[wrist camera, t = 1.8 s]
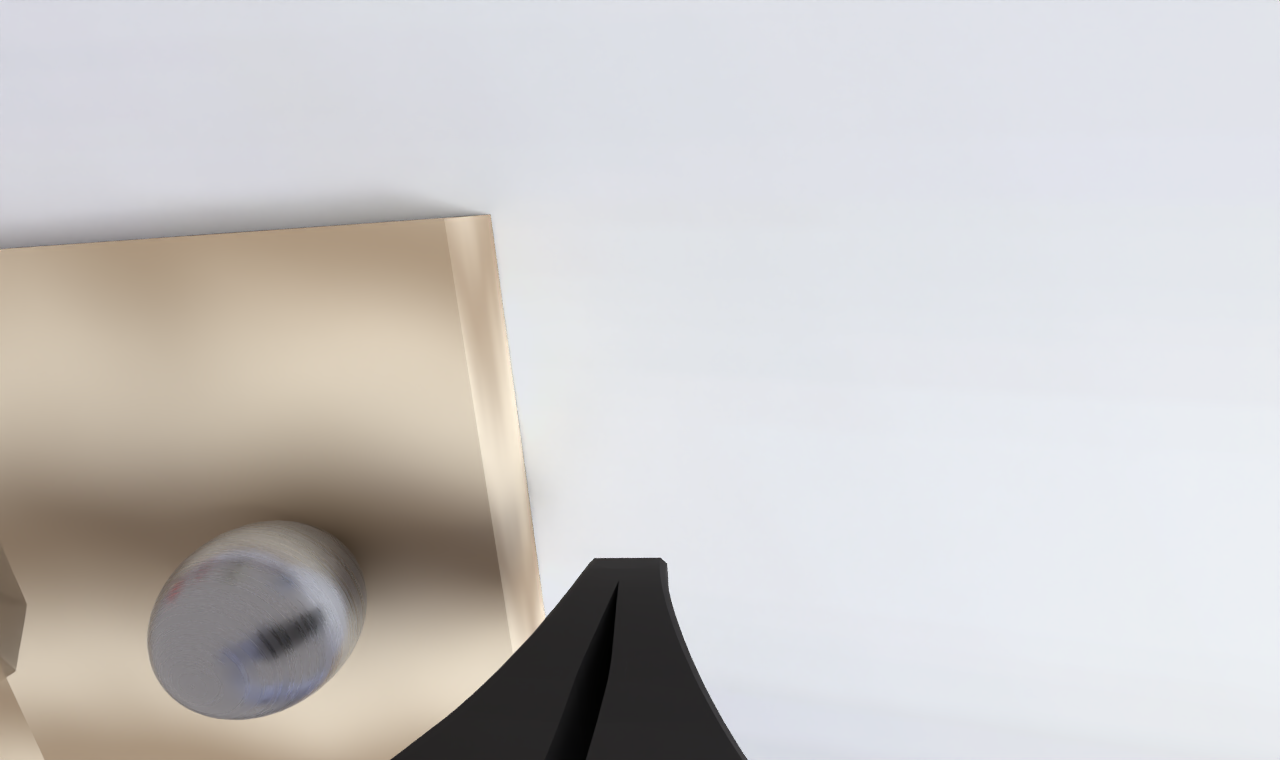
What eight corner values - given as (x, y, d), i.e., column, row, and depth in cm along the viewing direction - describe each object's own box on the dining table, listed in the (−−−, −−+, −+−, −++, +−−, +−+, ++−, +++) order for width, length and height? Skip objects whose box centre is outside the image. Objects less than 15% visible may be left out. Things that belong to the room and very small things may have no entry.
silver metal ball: (411, 627, 13) (316, 771, 10) (266, 626, 14) (128, 765, 10) (381, 487, 12) (264, 595, 9) (226, 490, 13) (58, 595, 9)
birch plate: (559, 720, 17) (536, 806, 15) (-104, 706, 19) (-216, 777, 17) (490, 214, 13) (444, 218, 11) (-338, 272, 15) (-530, 286, 13)
